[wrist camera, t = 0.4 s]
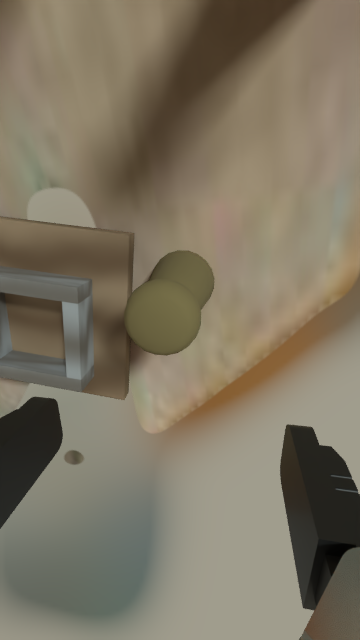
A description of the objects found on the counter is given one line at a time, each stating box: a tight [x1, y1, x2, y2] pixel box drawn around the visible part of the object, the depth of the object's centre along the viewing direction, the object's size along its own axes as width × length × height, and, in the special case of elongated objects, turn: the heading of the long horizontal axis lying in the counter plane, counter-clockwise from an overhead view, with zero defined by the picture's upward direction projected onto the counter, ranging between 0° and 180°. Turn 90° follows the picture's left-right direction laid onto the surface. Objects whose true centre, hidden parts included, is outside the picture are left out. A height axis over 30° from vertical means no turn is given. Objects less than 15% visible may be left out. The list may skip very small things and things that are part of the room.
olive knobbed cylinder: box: [124, 251, 214, 355], centre depth 23 cm, size 6×6×11 cm
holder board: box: [0, 217, 134, 400], centre depth 30 cm, size 18×25×4 cm
